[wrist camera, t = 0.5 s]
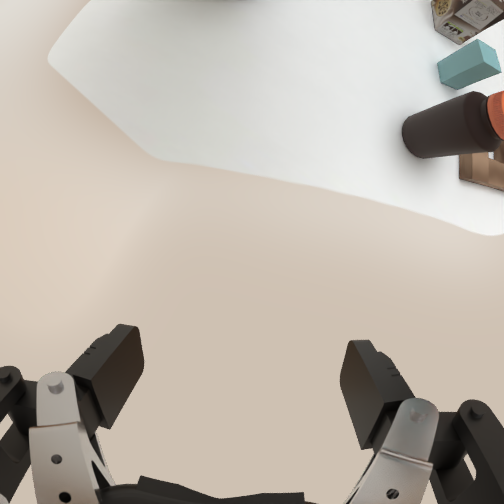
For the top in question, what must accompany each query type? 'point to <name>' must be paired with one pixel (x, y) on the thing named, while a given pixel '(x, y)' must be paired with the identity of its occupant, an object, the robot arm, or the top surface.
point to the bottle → (457, 126)
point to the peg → (469, 65)
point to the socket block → (483, 168)
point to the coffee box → (465, 17)
